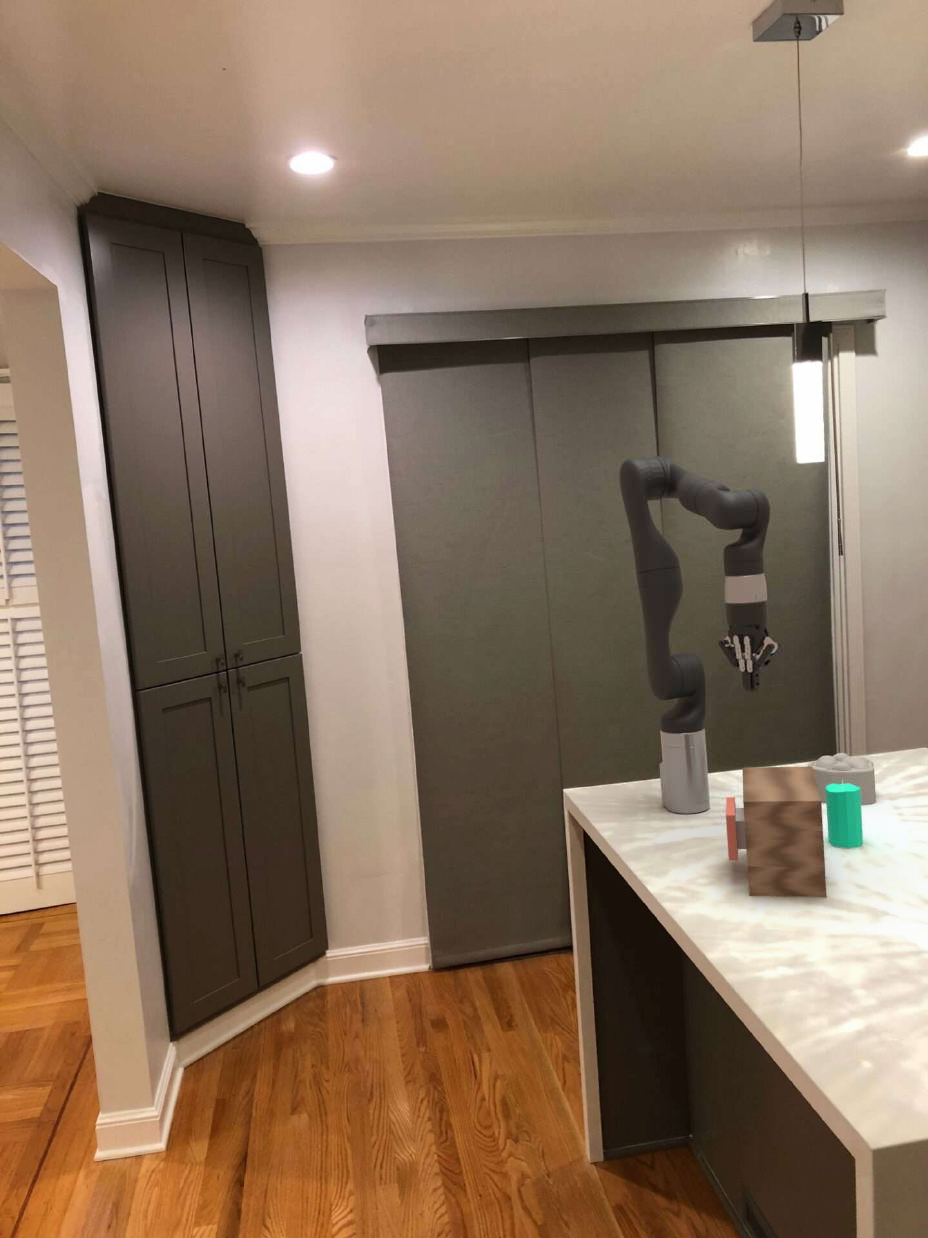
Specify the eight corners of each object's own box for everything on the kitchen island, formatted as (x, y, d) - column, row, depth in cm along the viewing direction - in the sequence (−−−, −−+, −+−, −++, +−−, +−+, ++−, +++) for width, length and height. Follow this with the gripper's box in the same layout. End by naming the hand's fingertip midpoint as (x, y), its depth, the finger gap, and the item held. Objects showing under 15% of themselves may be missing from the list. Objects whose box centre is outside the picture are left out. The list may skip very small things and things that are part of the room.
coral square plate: (728, 860, 164) (725, 815, 163) (729, 840, 174) (726, 797, 173) (787, 861, 161) (784, 815, 161) (784, 840, 171) (781, 796, 170)
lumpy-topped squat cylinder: (876, 806, 196) (874, 764, 195) (808, 804, 201) (806, 764, 200) (874, 790, 206) (872, 751, 205) (809, 790, 210) (807, 751, 209)
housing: (749, 895, 159) (743, 801, 157) (747, 851, 178) (742, 767, 176) (826, 897, 156) (821, 801, 154) (816, 852, 175) (811, 766, 173)
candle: (866, 847, 175) (863, 783, 173) (831, 848, 176) (828, 784, 174) (859, 836, 180) (856, 774, 179) (825, 837, 182) (822, 775, 180)
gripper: (788, 596, 175) (794, 690, 176) (731, 595, 185) (736, 684, 187) (761, 602, 170) (767, 698, 172) (704, 600, 181) (710, 691, 183)
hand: (751, 690), depth 180 cm, fingers closed
